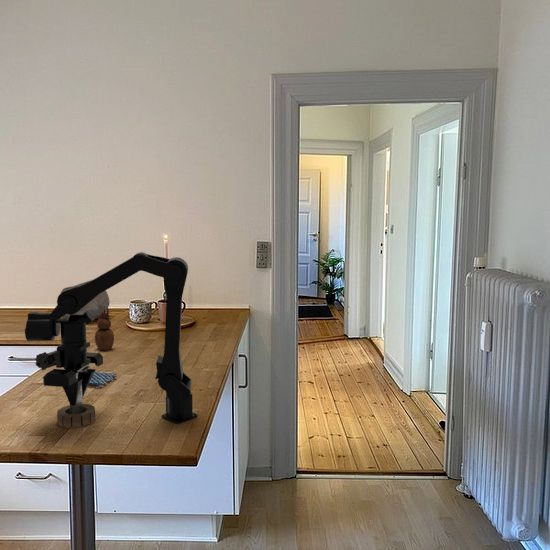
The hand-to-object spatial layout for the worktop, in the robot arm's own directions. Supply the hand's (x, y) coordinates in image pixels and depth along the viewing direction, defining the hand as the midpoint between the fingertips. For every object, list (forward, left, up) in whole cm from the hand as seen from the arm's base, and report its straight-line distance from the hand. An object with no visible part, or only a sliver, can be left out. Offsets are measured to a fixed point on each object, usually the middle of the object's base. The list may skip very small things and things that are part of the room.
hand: (76, 402), depth 135 cm
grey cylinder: (0, 0, -2) cm, 2 cm away
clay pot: (+97, -62, -5) cm, 115 cm away
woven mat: (+22, -19, -5) cm, 30 cm away
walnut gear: (0, 0, -4) cm, 5 cm away
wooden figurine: (+50, -41, -5) cm, 65 cm away
